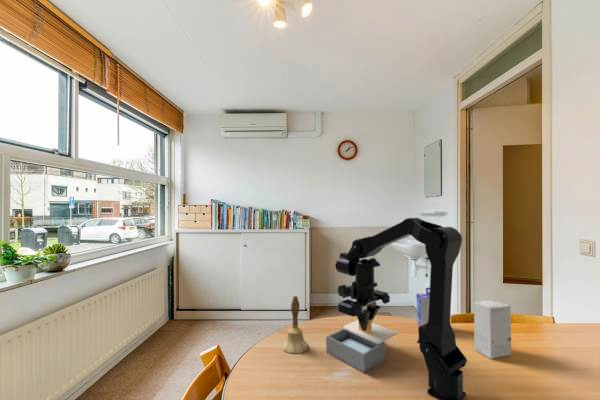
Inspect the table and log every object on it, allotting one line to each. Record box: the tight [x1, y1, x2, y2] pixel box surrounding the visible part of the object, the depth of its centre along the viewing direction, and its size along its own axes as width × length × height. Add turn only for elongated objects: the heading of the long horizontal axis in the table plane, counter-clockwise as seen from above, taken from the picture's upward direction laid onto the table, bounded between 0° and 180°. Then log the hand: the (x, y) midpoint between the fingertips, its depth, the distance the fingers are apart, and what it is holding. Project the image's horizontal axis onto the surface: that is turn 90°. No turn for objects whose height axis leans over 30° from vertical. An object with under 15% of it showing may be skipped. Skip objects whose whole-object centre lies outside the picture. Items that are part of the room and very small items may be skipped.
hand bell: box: [281, 295, 309, 355], centre depth 91 cm, size 8×8×16 cm
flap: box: [341, 319, 398, 345], centre depth 90 cm, size 14×10×5 cm
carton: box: [325, 328, 386, 374], centre depth 85 cm, size 14×10×5 cm
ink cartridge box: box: [416, 287, 430, 329], centre depth 102 cm, size 10×6×14 cm, turn 86°
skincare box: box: [473, 299, 512, 360], centre depth 87 cm, size 8×6×15 cm
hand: (365, 329), depth 88 cm, fingers closed on flap
